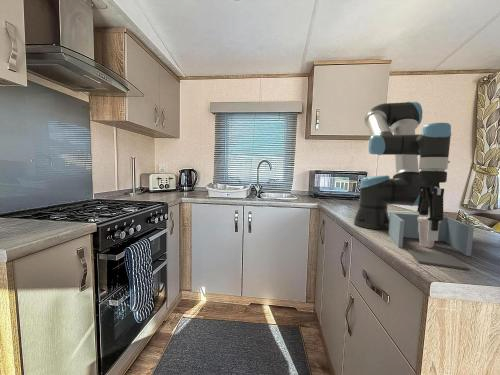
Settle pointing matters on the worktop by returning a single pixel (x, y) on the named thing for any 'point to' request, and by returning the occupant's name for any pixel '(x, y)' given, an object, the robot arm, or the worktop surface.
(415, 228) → the open frame
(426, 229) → the smoothie
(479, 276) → the worktop surface
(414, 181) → the robot arm
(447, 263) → the mat
